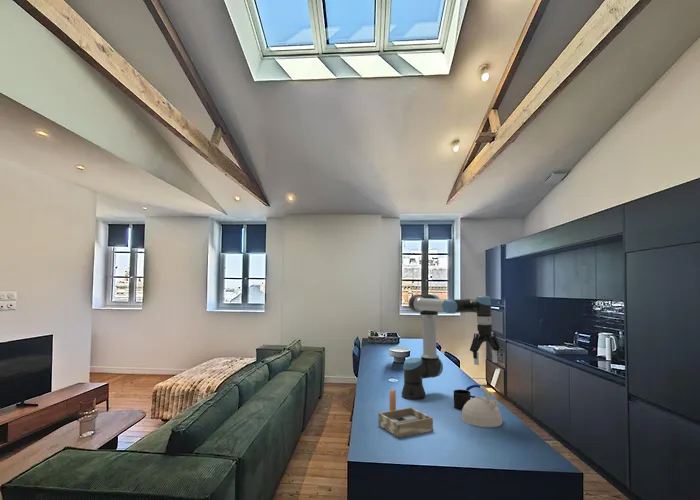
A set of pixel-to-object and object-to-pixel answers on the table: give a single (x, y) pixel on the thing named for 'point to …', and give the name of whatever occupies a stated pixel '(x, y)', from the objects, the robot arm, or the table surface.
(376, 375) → the table surface
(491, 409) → the kettle
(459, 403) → the mug
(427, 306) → the robot arm
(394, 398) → the peg
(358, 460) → the table surface
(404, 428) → the box
